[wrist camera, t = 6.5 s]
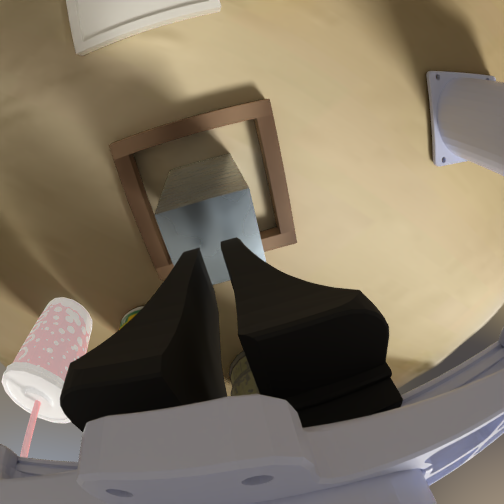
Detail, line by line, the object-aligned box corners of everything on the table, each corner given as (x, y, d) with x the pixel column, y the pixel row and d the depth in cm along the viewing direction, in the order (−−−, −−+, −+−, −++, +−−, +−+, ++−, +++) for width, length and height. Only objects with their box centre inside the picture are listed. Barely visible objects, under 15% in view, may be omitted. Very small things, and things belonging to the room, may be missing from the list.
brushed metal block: (229, 153, 19) (249, 188, 12) (243, 208, 21) (267, 269, 14) (170, 170, 19) (154, 215, 12) (187, 224, 21) (184, 292, 14)
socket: (265, 98, 18) (269, 98, 17) (292, 235, 23) (296, 242, 22) (113, 142, 17) (108, 145, 16) (161, 271, 22) (160, 280, 21)
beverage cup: (77, 281, 22) (17, 435, 10) (112, 336, 25) (88, 483, 13) (27, 299, 22) (-36, 430, 9) (62, 348, 25) (27, 476, 12)
